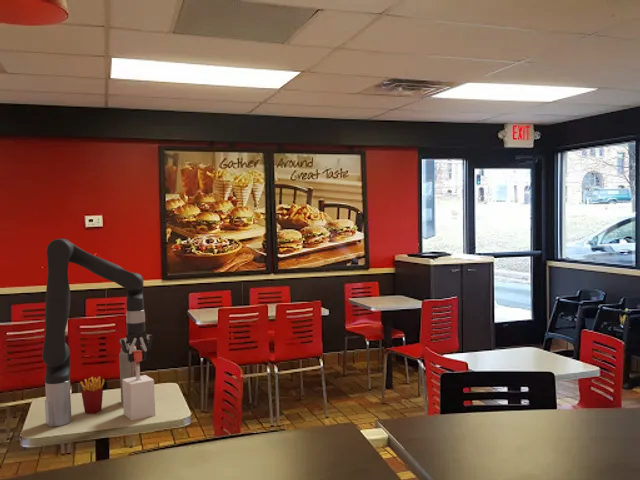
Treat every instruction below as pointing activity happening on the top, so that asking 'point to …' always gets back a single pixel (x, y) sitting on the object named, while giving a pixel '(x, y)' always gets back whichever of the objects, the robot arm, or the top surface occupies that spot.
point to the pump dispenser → (138, 397)
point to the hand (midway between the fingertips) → (137, 360)
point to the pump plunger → (137, 361)
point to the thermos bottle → (126, 368)
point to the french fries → (92, 395)
